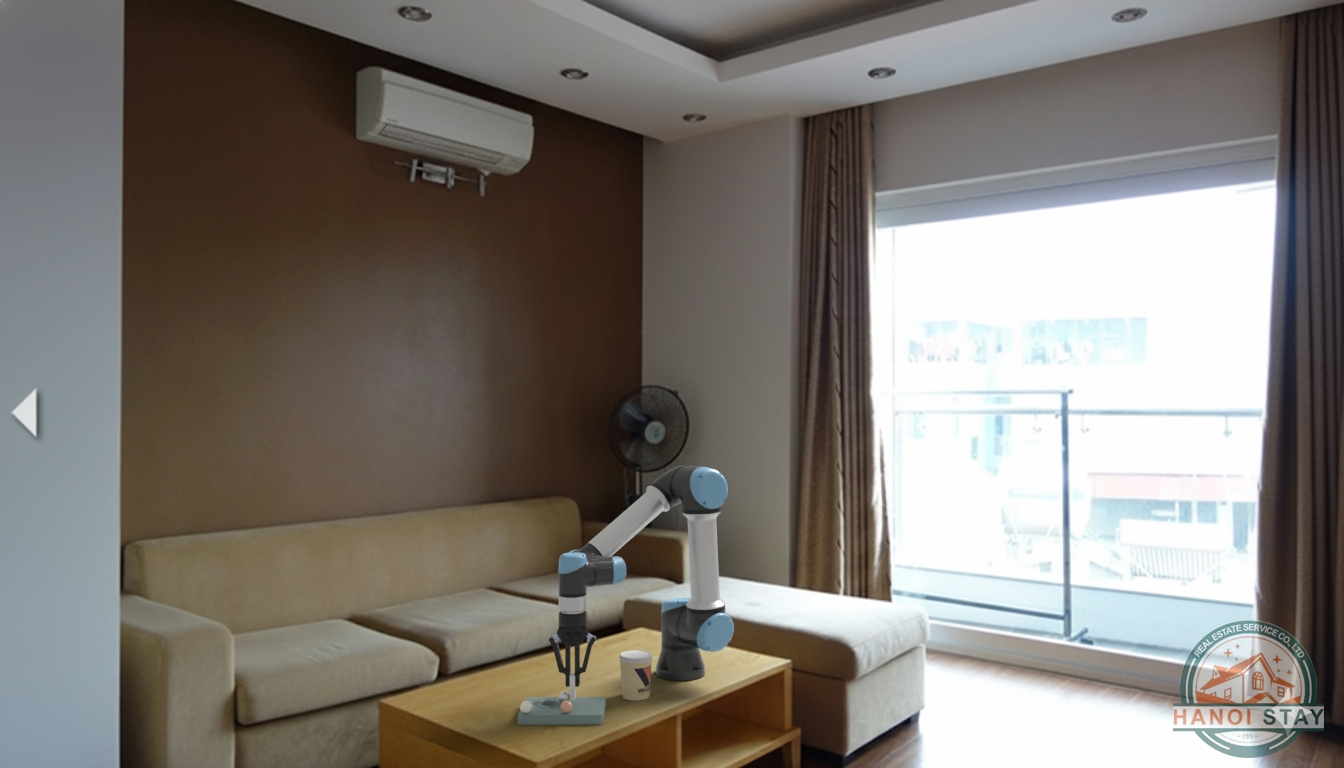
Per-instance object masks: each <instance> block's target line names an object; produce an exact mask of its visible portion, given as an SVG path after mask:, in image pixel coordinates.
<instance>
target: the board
mask: <svg viewBox="0 0 1344 768" xmlns="http://www.w3.org/2000/svg"><path fill="white" fill-rule="evenodd" d="M558 697H559V696H526V697H525V699H524V701H530V702H531V703H532V710H531V712H529V713H523V712H522V711H521V709H520V708H519V709H520V710H519V711H518V714H517V725H518V726H519V725H521V726H522V725H523V726H525V725H527V726H528V725H531V726H533V725H534V726H535V725H538V726H540V725H544V726H545V725H550V726H551V725H562V726H563V725H566V726H567V725H603V722H604V718H605V712H606V707H607V697H606V696H576V698H575V700H569V701H570V702H571V703H572V710H571V711H570V712H569V713H563V712H562V711H561V709H560V705H561V702H560V701H559V699H558Z"/></svg>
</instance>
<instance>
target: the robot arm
mask: <svg viewBox="0 0 1344 768" xmlns="http://www.w3.org/2000/svg"><path fill="white" fill-rule="evenodd" d="M645 490H646V491H645V493H643V494H642V495H641V496H640V497H639V498H638V499H637V500H635V502H633V503H632V504H631V505H630V506H628V508H627V509H625V510H624V511H622V513H621V514H619V516H617V517H616V518H615V519H614V520H613V521H612V522H610V523H609V524H608V525H607V526H605V528H603V529H602V530H601V531H600V532H598V533H597V534H596V535H595V536H594V537H593V538H592V539H591V540H589V541H588V543H586V544H585V545H583V547H581V548H580V549H573V550H570V551H568V552H565V553H562V554H561V555H560V556H559V558H558V570H557V571H558V610H559V612H558V629H557V631H556V633H555V634H553V635H550V636H549V637H548V641H549V644H550V645H551V646H552V649H553V653H554V657H555V661H556V666H557V669H558V672H559V673H560V674H564V675H565V687H568V688H569V694H570V700H575V698H576V697H577V689H576V688H577V687H580V684H581V680H580V679H581V674H583V673H586V671H587V668H588V664H589V660H590V655H591V651H592V647H593V645H594V644H595V642H596V640H597V636H596V635H595V634H594V635H593V634H591V633H590V632H589V629H588V627H587V626H588V625H587V621H588V620H587V611H586V610H587V591H588V590H587V589H588V588H591V587H601V586H608V585H612V586H613V585H615V584H620V583H622V582H624V581H625V579H626V577H627V565H626V562H625V560H624V559H623V558H622V557H621V556H613V555H615V554H616V553H617V552H619V550H621V549H622V547H623V546H625V545H626V544H627V543H628V542H629V541H630V540H632V539H633V538H634V537H635V536H636V535H637V534H639V533H640V532H641V531H642V530H643V529H644V528H645V527H646V526H648V524H650V523H651V522H652V521H653V520H654V519H656V517H658V516H659V515H660V514H661V513H662V512H665V513H667V512H669V511H670V510H671V509H672V508H673V507H675V506H677V505H681V513H682V515H683V516H684V517H685V518H686V520H687V534H688V535H687V536H688V537H687V539H688V562H689V585H690V586H689V587H690V597H679V598H678V597H677V598H672V599H667V600H664V601H663V602H662V604H661V611H660V614H661V617H660V619H661V620H660V621H661V624H660V625H661V629H660V630H661V650H660V652H659V655H658V659H657V662H656V665H655V674H656V676H657V677H659V678H661V679H663V680H668V681H692V680H693V681H694V680H697V679H700V678H702V677H704V676H705V675H706V666H705V664H704V663H705V662H704V660H703V657H702V654H701V651H704V652H710V653H711V652H712V653H716V652H721V650H723V649H725V648H726V647H727V646H728V644H729V643H730V642H731V641H732V638H733V635H734V631H735V626H734V621H733V619H732V618H731V617H730V616H729V615H728V614H727V613H726V603H725V601H724V600H723V599H722V598H721V595H720V592H721V591H720V572H719V552H718V550H719V549H718V530H717V529H718V528H717V525H718V524H717V518H718V516H719V515H720V514H721V513H722V505H723V504H725V501H726V500H727V498H728V494H729V492H728V491H729V489H728V483H727V480H726V478H725V477H724V475H723V474H722V473H721V472H720V471H718V470H717V469H714V468H710V467H707V466H697V465H695V466H694V465H685V464H684V465H683V464H682V465H677V466H675V467H673V468H670V469H669V470H667V471H666V472H664V473H662V474H661V475H660V476H659V477H657V478H656V479H655V480H654V481H653V482H652V483H650V484H649V485H648V486H647V487H646V489H645ZM586 638H587V639H586ZM585 639H586V642H587V645H586V649H585V654H584V657H583V658H584V659H583V661H582V662H583V663H582V666H581V645H582V644H583V642H584V641H585ZM559 640H560V641H561V642H562V644H563V645H564V649H565V651H564V652H565V654H564V656H565V657H564V661H565V662H564V661H563V658H562V654H561V650H560V646H559V643H558V642H559ZM572 646H574V672H572V669H571V665H572V664H571V663H572V659H571V653H572V649H571V647H572ZM563 662H564V663H565V664H564V663H563ZM564 665H565V666H564Z"/></svg>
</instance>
